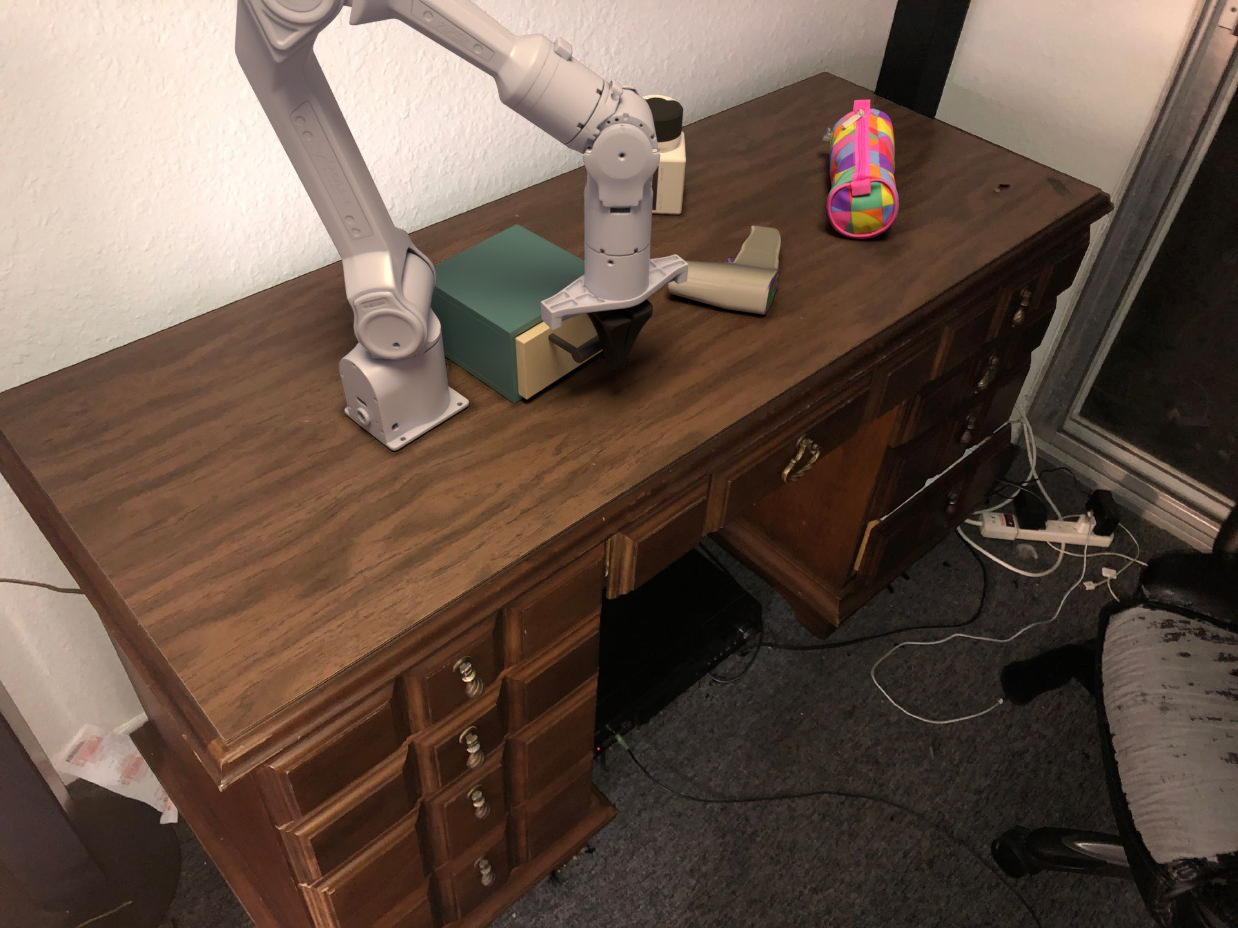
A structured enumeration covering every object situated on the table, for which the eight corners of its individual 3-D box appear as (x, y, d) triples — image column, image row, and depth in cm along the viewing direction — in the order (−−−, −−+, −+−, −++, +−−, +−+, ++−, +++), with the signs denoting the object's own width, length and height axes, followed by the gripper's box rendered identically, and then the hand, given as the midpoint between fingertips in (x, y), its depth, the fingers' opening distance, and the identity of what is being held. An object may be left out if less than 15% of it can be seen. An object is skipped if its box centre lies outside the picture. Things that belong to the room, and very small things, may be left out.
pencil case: (817, 158, 133) (829, 95, 126) (885, 165, 132) (901, 101, 126) (818, 241, 117) (832, 174, 111) (895, 248, 117) (913, 181, 110)
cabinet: (607, 344, 102) (609, 274, 95) (514, 403, 94) (509, 333, 88) (520, 292, 108) (517, 223, 102) (427, 344, 101) (416, 274, 94)
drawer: (645, 364, 98) (648, 309, 93) (560, 422, 91) (559, 366, 86) (530, 295, 106) (528, 241, 101) (444, 344, 99) (437, 288, 94)
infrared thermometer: (782, 257, 116) (772, 321, 105) (684, 243, 118) (664, 305, 107) (788, 222, 113) (778, 285, 102) (688, 209, 115) (667, 269, 104)
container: (681, 216, 121) (689, 118, 111) (620, 214, 121) (624, 115, 111) (679, 185, 126) (687, 89, 117) (621, 183, 126) (625, 87, 117)
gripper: (660, 196, 86) (653, 318, 96) (520, 240, 81) (528, 365, 90) (706, 231, 82) (694, 355, 92) (563, 280, 76) (566, 407, 86)
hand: (614, 363), depth 91 cm, fingers closed, pressing on drawer
